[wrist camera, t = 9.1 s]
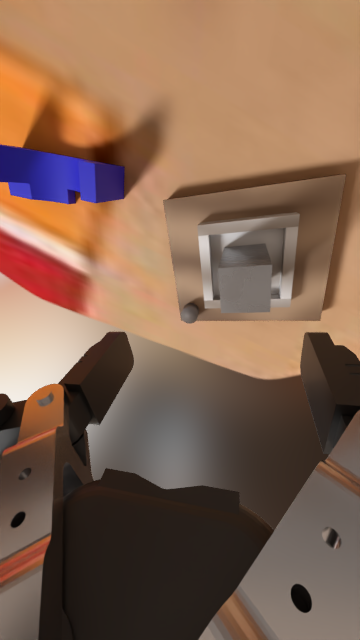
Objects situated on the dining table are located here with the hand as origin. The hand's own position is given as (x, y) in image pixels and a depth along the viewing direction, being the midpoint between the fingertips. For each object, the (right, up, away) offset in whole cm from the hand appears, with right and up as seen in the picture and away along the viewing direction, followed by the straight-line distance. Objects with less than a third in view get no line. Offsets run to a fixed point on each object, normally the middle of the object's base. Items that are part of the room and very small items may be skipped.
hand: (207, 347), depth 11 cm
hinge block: (+6, +7, +14) cm, 17 cm away
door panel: (+6, +8, +16) cm, 18 cm away
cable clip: (-13, +17, +16) cm, 27 cm away
